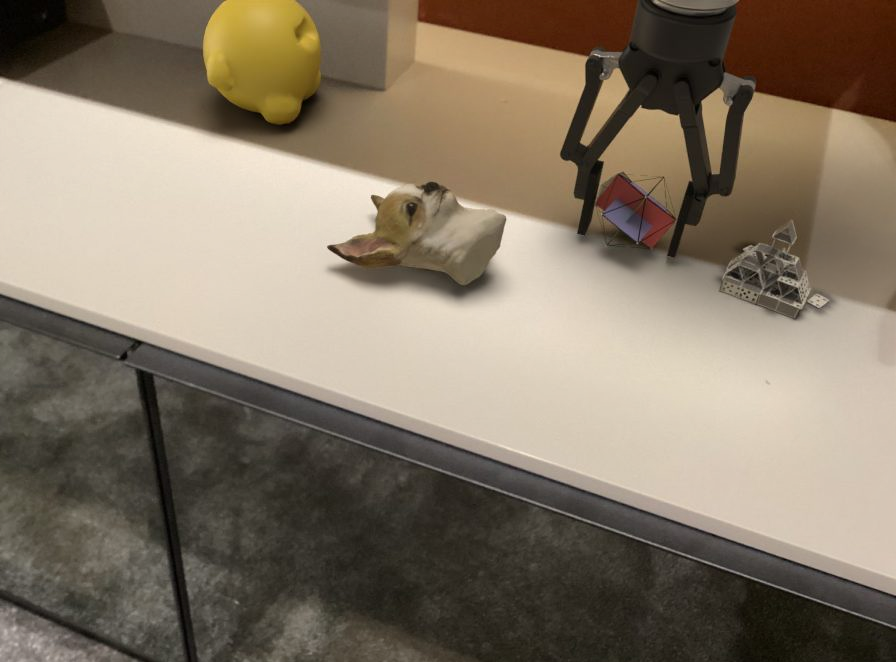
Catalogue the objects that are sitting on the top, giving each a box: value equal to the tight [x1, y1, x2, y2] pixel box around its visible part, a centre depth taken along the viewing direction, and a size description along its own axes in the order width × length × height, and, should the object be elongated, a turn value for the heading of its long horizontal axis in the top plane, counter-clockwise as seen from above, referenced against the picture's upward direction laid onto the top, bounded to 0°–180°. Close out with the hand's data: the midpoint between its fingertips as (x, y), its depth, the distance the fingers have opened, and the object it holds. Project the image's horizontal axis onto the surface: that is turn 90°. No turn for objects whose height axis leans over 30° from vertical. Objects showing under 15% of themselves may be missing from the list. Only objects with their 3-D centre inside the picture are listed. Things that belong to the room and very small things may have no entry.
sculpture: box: [202, 0, 322, 126], centre depth 104 cm, size 15×13×13 cm
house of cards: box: [718, 219, 830, 320], centre depth 85 cm, size 9×9×8 cm
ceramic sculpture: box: [326, 181, 507, 286], centre depth 86 cm, size 11×9×15 cm
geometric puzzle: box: [594, 171, 678, 250], centre depth 88 cm, size 7×7×8 cm
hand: (628, 237), depth 90 cm, fingers closed on geometric puzzle, 8 cm apart
